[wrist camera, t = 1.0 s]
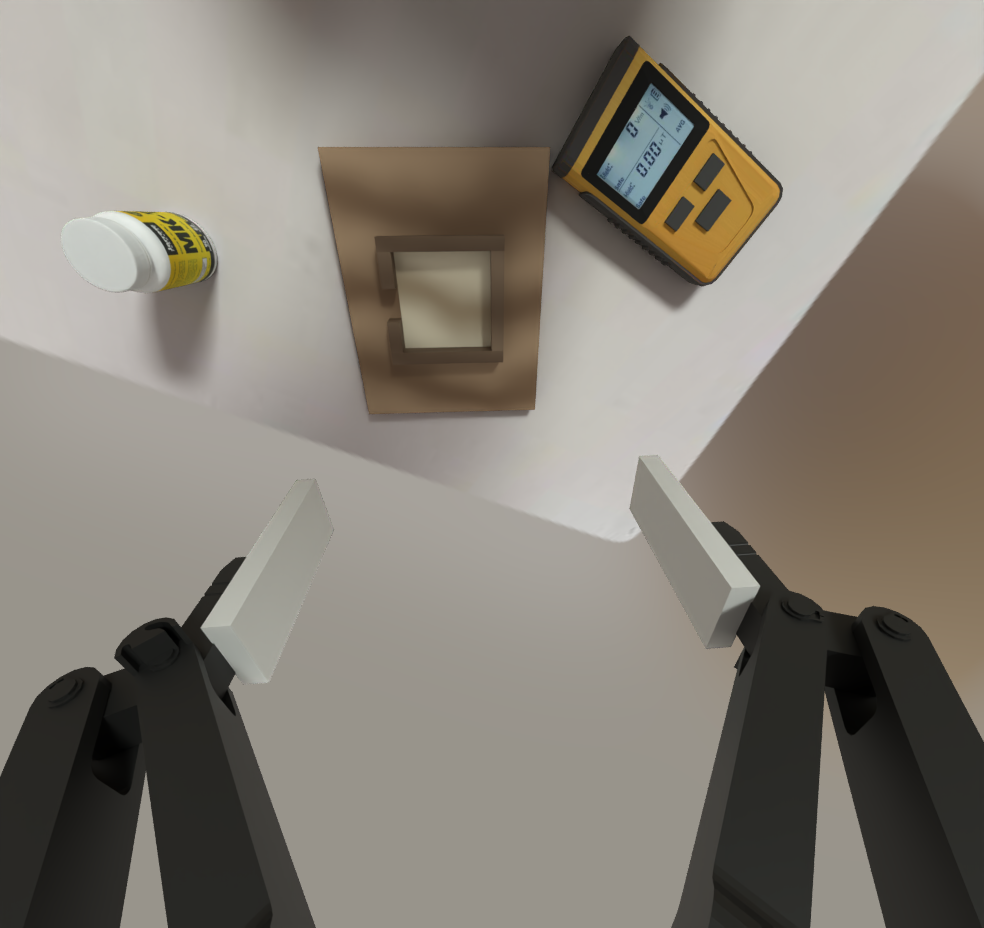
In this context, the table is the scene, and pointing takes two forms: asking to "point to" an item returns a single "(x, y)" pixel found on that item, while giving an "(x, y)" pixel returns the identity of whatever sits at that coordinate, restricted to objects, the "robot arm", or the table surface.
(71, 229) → the supplement bottle
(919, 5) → the table surface
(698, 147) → the electronic device
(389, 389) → the board
